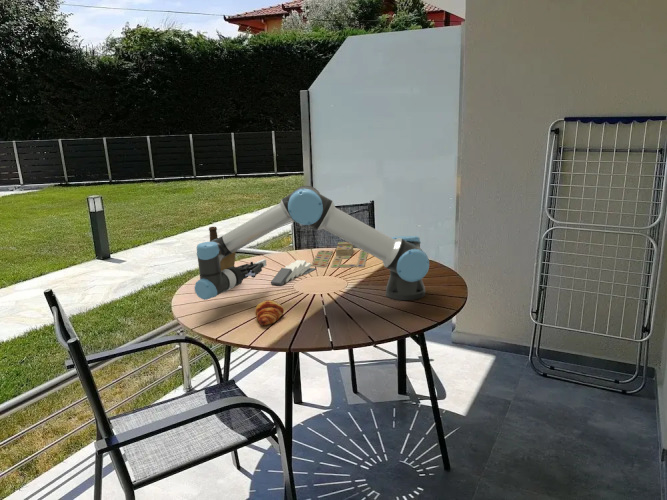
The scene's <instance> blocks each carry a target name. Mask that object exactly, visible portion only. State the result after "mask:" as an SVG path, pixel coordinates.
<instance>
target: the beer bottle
mask: <svg viewBox="0 0 667 500" xmlns="http://www.w3.org/2000/svg"><path fill="white" fill-rule="evenodd" d="M217 230H218V229H217V226H209V228H208V231H209V242H211V241H212V240H214V239H218V238H219V237H218V231H217Z"/></svg>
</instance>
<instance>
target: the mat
mask: <svg viewBox="0 0 667 500" xmlns="http://www.w3.org/2000/svg"><path fill="white" fill-rule="evenodd" d="M315 270H317V267H316V268H314V267H310V268H309V269H308V270H306V271H305V272H304V273H303V274H302V275H308V274H310V273H312V272H314V271H315Z"/></svg>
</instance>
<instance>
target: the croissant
mask: <svg viewBox="0 0 667 500" xmlns="http://www.w3.org/2000/svg"><path fill="white" fill-rule="evenodd" d="M284 311H285V308H284V306H282V305H281V304H280V303H279V302H278V301H275V300H270V299H266V300H263V301H261V302H260V303H258V304H257V305H256V307H255V311H254V315H255V318H256V319H257V321H258V323H259V324H260V325H262V326H267V325H272V324H274V323H275V322H278V321H279V319H280V318H281V317H282V316H283V315H284V313H285V312H284Z"/></svg>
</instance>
